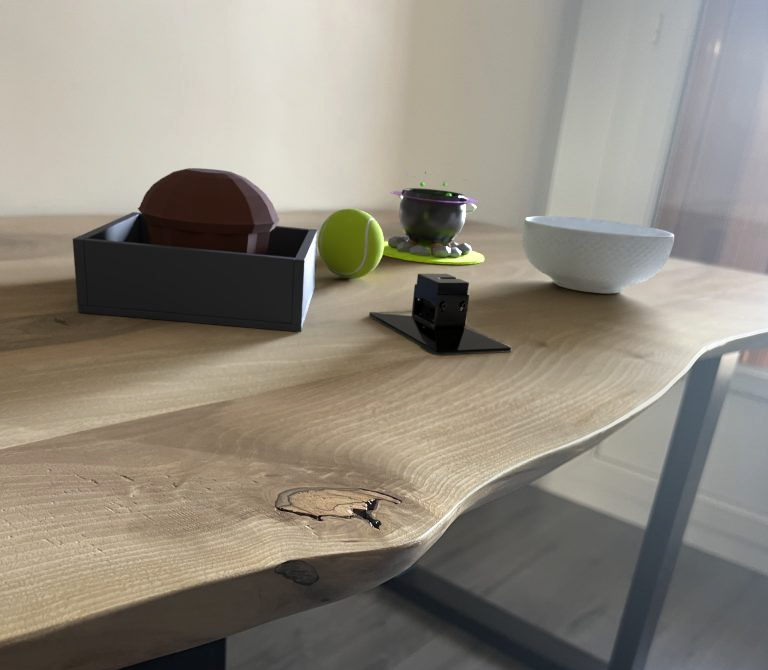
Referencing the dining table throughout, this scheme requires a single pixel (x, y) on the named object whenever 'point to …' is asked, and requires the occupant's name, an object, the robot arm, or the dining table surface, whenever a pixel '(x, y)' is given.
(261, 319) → the bin
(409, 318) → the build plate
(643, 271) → the cereal bowl
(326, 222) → the tennis ball
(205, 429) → the dining table surface
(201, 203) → the muffin
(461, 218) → the toy cauldron
